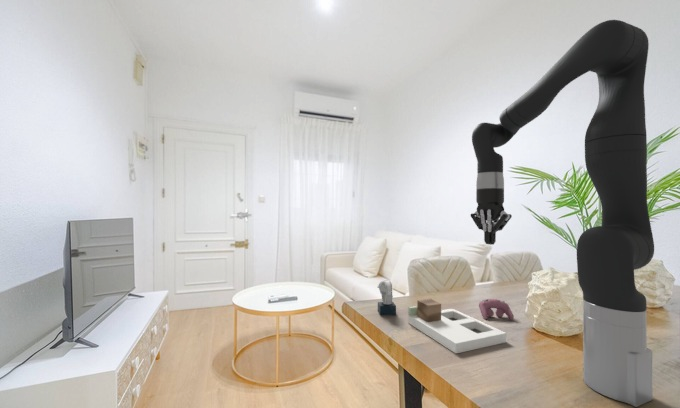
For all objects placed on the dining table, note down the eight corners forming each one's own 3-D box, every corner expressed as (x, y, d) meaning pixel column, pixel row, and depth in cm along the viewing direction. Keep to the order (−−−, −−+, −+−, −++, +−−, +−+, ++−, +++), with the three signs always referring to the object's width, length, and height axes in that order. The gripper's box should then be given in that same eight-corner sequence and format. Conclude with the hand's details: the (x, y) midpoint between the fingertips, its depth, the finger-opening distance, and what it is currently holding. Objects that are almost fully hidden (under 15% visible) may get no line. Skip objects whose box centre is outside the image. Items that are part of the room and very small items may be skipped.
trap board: (506, 342, 76) (506, 323, 76) (455, 353, 69) (455, 333, 70) (452, 315, 95) (452, 301, 95) (408, 322, 88) (408, 307, 88)
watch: (391, 308, 101) (391, 278, 101) (397, 317, 93) (397, 284, 93) (376, 308, 100) (376, 278, 101) (380, 317, 92) (381, 284, 93)
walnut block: (441, 320, 84) (441, 303, 84) (427, 322, 82) (427, 305, 83) (430, 314, 89) (430, 298, 89) (417, 316, 87) (417, 300, 87)
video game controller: (509, 321, 94) (504, 300, 98) (516, 320, 90) (511, 298, 94) (479, 320, 95) (475, 299, 98) (484, 319, 91) (480, 297, 94)
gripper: (519, 187, 81) (519, 246, 80) (480, 190, 93) (480, 241, 93) (501, 185, 78) (501, 247, 77) (463, 188, 90) (463, 242, 90)
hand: (489, 244), depth 85 cm, fingers closed
